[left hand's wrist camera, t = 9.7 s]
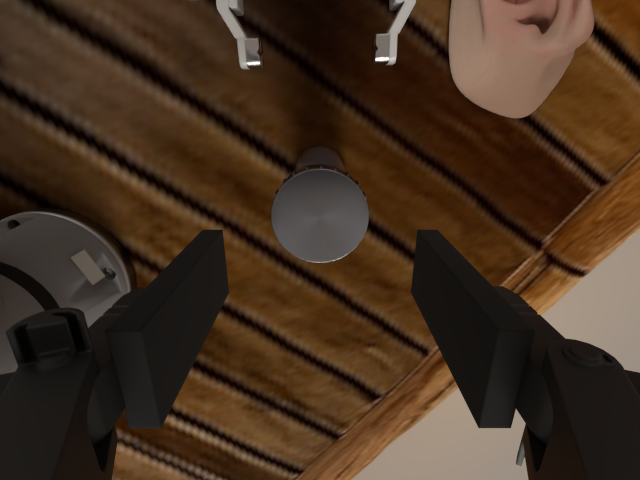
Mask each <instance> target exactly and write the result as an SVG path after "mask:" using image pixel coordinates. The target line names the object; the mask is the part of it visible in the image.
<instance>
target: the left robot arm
mask: <svg viewBox="0 0 640 480" xmlns="http://www.w3.org/2000/svg"><path fill="white" fill-rule="evenodd" d="M228 293H229V289H228V279H227V269H226V260H225V250H224V240H223V230H202V231H201V232H200V233H199V234H198V235H197V236H196V237H195V238H194V239H193V240H192V242H191V243H190V244H189V245H188V246H187V247H186V248H185V249H184V250H183V251H182V252H181V253H180V254H179V255H178V256H177V257H176V258H175V259H174V260H173V261H172V262H171V263H170V264H169V265H168V266H167V267H166V268H165V269H164V270H163V271H162V272H161V273H160V274H159V275H158V276H157V277H156V278H155V279H154V280H153V281H152V282H151V283H150V284H149V285H148V287H147V288H136V278H135V273H134V270H133V267H132V264H131V262H130V260H129V258H128V256H127V254H126V253H125V251H124V249H123V248H122V247H121V245H120V244H119V243H118V242H117V241H116V240H115V238H114V237H113V236H111V235H110V234H109V233H108V232H107V231H106V230H105V229H103V228H102V227H101V226H99V225H98V224H96V223H95V222H93V221H91V220H89V219H88V218H85V217H83V216H81V215H79V214H76V213H73V212H70V211H66V210H61V209H55V208H37V209H31V210H27V211H24V212H21V213H18V214H15V215H12V216H9V217H7V218H4V219H2V220H1V221H0V480H111V479H112V473H113V467H114V460H115V454H116V447H117V441H118V440H117V433H116V429H115V423H116V422H117V420H118V419H119V417H120V415H121V414H122V412H123V411H124V409H125V413H126V417H127V421H128V425H129V428H161V427H162V425H163V423H164V421H165V419H166V417H167V415H168V413H169V411H170V409H171V407H172V405H173V403H174V401H175V399H176V397H177V395H178V393H179V391H180V389H181V387H182V385H183V383H184V381H185V379H186V377H187V375H188V373H189V371H190V369H191V367H192V365H193V363H194V361H195V359H196V357H197V355H198V353H199V351H200V349H201V347H202V345H203V343H204V341H205V339H206V337H207V335H208V333H209V331H210V329H211V327H212V325H213V323H214V321H215V319H216V317H217V315H218V313H219V311H220V309H221V307H222V305H223V303H224V301H225V299H226V297H227V295H228ZM411 293H412V295H413V297H414V299H415V301H416V303H417V305H418V307H419V309H420V311H421V313H422V315H423V317H424V319H425V321H426V323H427V325H428V327H429V329H430V331H431V333H432V335H433V337H434V339H435V341H436V343H437V345H438V347H439V349H440V351H441V353H442V355H443V357H444V359H445V361H446V363H447V365H448V367H449V369H450V371H451V373H452V375H453V377H454V379H455V381H456V383H457V385H458V387H459V389H460V391H461V393H462V395H463V397H464V399H465V401H466V403H467V405H468V407H469V409H470V411H471V413H472V415H473V417H474V419H475V421H476V423H477V425H478V427H479V428H511V425H512V421H513V417H514V413H515V409H517V411H518V412H519V414H520V415H521V417H522V418H523V420H524V421H525V423H526V425H525V429H524V433H523V436H522V440H521V444H520V447H519V451H518V455H517V460H516V464H517V465H520V466H521V465H522V462H523V458H524V457H525V459H526V465H527V472H528V478H529V480H640V373H638V372H633V371H628V370H624V368H623V367H622V365H621V364H620V363H619V362H618V361H617V360H616V359H615V358H614V357H613V356H611V355H610V354H608V353H607V352H605V351H604V350H602V349H600V348H598V347H595V346H593V345H591V344H588V343H585V342H581V341H578V340H572V339H565V338H564V337H563V336H562V335H561V334H560V333H559V332H558V331H556V330H555V329H554V328H553V327H552V326H551V325H550V324H549V323H548V322H547V321H546V320H545V319H544V318H543V317H541V316H540V315H537V312H536V311H535V310H534V309H533V308H532V307H531V306H529V304H528V303H526V302H525V301H524V300H523V299H522V298H521V297H520V296H519V295H518V294H516V293H514V292H512V291H510V290H508V289H506V288H505V287H503V286H492V285H491V284H490V283H489V282H488V281H487V280H486V279H485V278H484V277H483V276H482V275H481V274H480V273H479V272H478V271H477V270H476V269H475V268H474V267H473V266H472V265H471V264H470V263H469V262H468V261H467V260H466V259H465V258H464V257H463V256H462V255H461V254H460V253H459V252H458V251H457V250H456V249H455V248H454V247H453V246H452V245H451V244H450V243H449V242H448V240H447V239H446V238H445V237H444V236H443V235H442V234H441V233H440V232H439V231H438V230H417V240H416V250H415V260H414V269H413V279H412V289H411Z"/></svg>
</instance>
